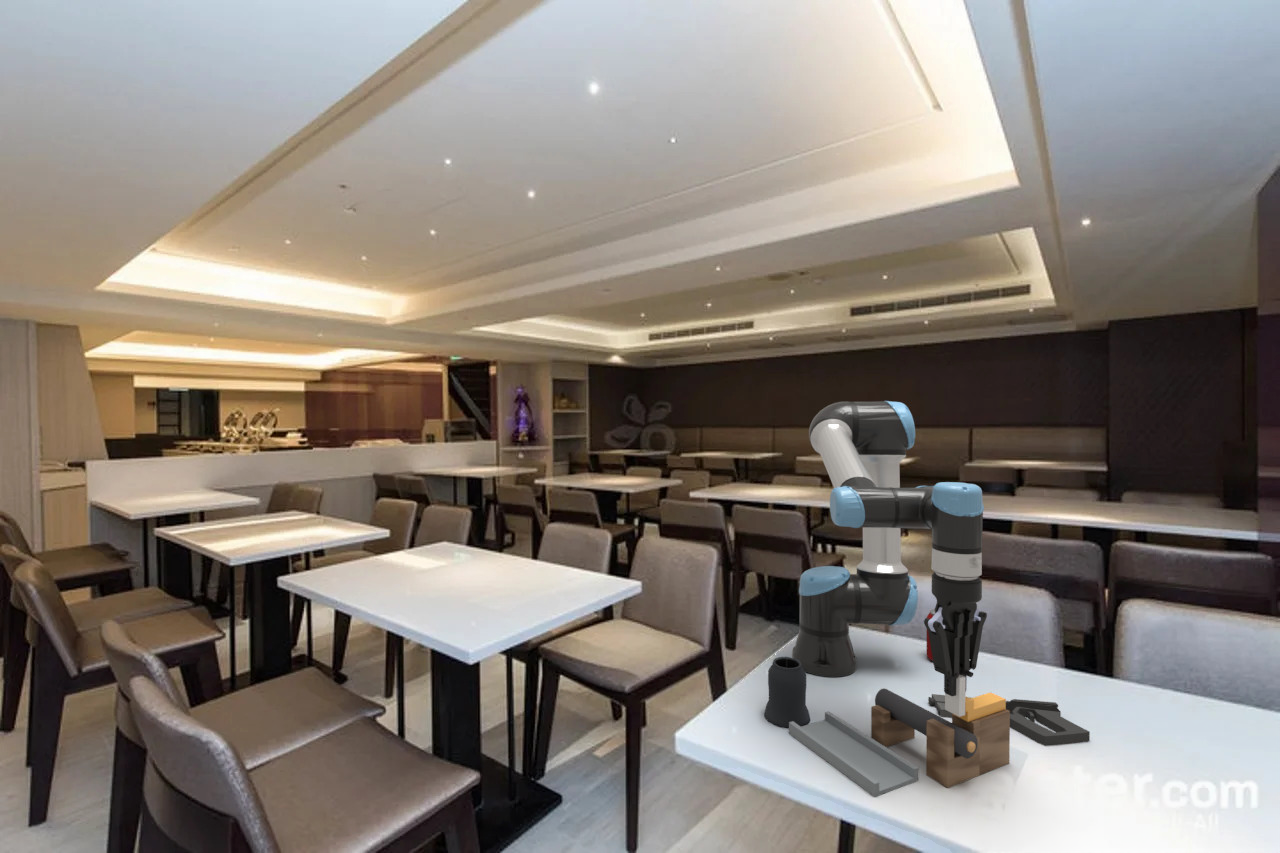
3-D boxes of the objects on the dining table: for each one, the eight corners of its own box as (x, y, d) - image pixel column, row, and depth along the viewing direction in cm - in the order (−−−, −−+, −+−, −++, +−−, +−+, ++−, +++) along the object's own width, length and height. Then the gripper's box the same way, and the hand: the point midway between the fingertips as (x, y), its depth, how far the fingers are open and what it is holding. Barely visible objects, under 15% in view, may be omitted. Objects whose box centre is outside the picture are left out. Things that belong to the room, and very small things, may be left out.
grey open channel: (788, 733, 114) (788, 722, 114) (828, 721, 118) (828, 711, 118) (874, 796, 95) (874, 783, 95) (918, 780, 99) (918, 767, 99)
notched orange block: (950, 714, 102) (950, 695, 102) (990, 702, 106) (990, 683, 106) (965, 722, 99) (966, 702, 99) (1005, 709, 104) (1005, 690, 104)
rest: (871, 739, 111) (871, 706, 111) (901, 730, 115) (901, 697, 115) (883, 747, 109) (884, 713, 108) (914, 737, 112) (914, 704, 112)
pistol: (1100, 741, 107) (1059, 702, 122) (947, 726, 113) (926, 690, 127) (1100, 754, 107) (1059, 713, 122) (947, 738, 113) (926, 700, 127)
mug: (811, 731, 114) (812, 674, 114) (763, 726, 116) (764, 669, 116) (807, 702, 126) (808, 649, 126) (764, 697, 128) (764, 646, 128)
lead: (872, 710, 113) (872, 689, 113) (887, 705, 115) (888, 685, 115) (964, 762, 96) (964, 738, 96) (980, 756, 98) (980, 732, 98)
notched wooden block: (926, 774, 100) (926, 720, 100) (987, 751, 107) (987, 701, 107) (947, 788, 97) (947, 732, 97) (1009, 763, 104) (1009, 710, 103)
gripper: (950, 585, 94) (948, 731, 94) (1002, 575, 99) (1001, 714, 100) (910, 573, 101) (909, 710, 101) (962, 565, 106) (960, 695, 107)
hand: (955, 712), depth 100 cm, fingers closed
